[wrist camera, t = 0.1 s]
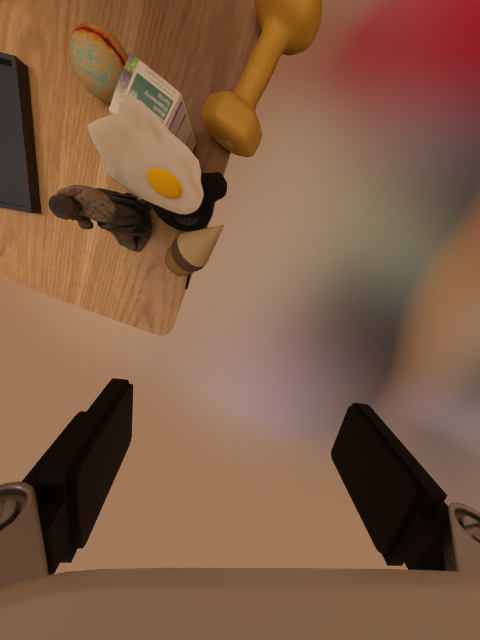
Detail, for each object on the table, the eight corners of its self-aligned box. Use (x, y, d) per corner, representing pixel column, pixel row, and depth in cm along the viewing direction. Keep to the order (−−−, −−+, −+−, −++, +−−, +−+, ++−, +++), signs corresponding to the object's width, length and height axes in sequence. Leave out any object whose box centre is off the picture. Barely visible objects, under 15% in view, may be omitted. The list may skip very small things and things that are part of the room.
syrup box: (198, 142, 37) (184, 89, 24) (180, 178, 39) (157, 147, 25) (164, 117, 36) (130, 45, 22) (147, 155, 37) (105, 109, 24)
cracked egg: (62, 70, 20) (57, 78, 20) (210, 127, 22) (208, 136, 22) (112, 192, 34) (110, 198, 34) (201, 220, 36) (199, 226, 36)
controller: (164, 220, 42) (137, 161, 34) (232, 215, 41) (223, 152, 32) (160, 237, 40) (130, 179, 31) (232, 232, 39) (222, 170, 30)
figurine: (99, 237, 41) (13, 238, 24) (113, 183, 38) (28, 142, 22) (145, 256, 43) (94, 270, 26) (161, 206, 40) (116, 185, 23)
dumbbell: (310, -77, 24) (339, 14, 30) (256, -37, 30) (289, 33, 35) (220, 120, 28) (260, 165, 34) (188, 121, 34) (228, 159, 40)
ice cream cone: (228, 234, 33) (190, 298, 43) (230, 212, 37) (194, 275, 47) (183, 211, 30) (153, 285, 41) (190, 189, 34) (161, 262, 45)
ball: (127, 122, 36) (106, 97, 29) (81, 91, 34) (47, 57, 28) (145, 72, 34) (127, 33, 28) (97, 37, 33) (66, -13, 26)
